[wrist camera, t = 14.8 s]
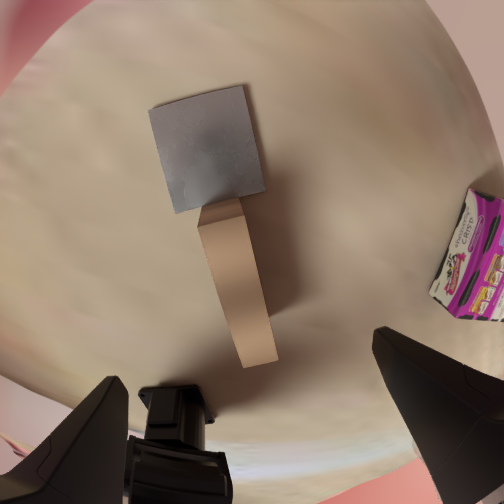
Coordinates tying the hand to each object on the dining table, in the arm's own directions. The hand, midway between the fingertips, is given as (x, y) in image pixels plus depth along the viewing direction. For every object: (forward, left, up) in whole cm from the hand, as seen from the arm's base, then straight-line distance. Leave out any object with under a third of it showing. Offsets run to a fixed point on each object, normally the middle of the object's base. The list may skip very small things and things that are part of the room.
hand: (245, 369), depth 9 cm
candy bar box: (-4, -19, -10) cm, 22 cm away
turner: (+1, 0, -12) cm, 12 cm away
